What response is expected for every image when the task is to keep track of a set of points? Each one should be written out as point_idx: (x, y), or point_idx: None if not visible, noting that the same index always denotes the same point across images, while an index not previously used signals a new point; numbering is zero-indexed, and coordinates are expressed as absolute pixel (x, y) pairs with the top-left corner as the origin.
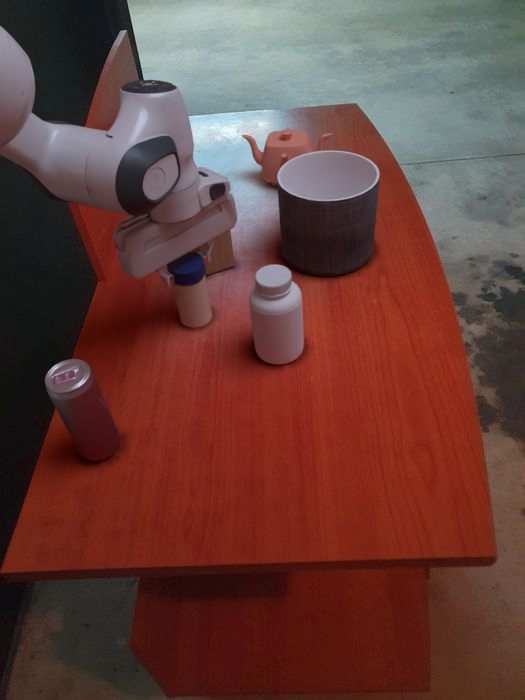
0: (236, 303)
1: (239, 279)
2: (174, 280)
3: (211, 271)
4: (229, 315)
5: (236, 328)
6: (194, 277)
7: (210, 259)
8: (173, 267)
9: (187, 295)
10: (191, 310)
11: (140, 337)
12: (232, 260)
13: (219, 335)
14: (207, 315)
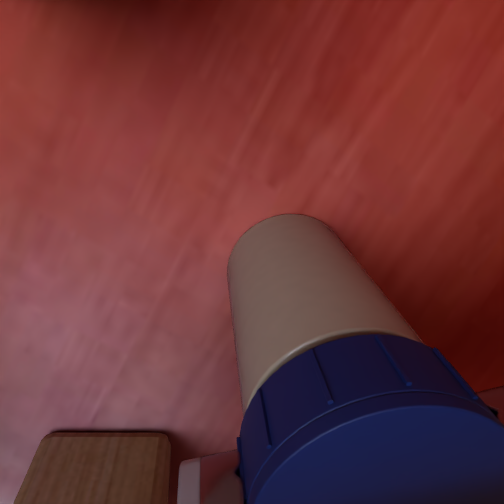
0: (119, 259)
1: (54, 368)
2: (490, 402)
3: (137, 440)
4: (174, 212)
5: (182, 124)
6: (383, 365)
7: (182, 478)
8: (484, 502)
9: (386, 304)
10: (347, 256)
11: (487, 275)
12: (41, 456)
13: (262, 126)
14: (267, 232)
